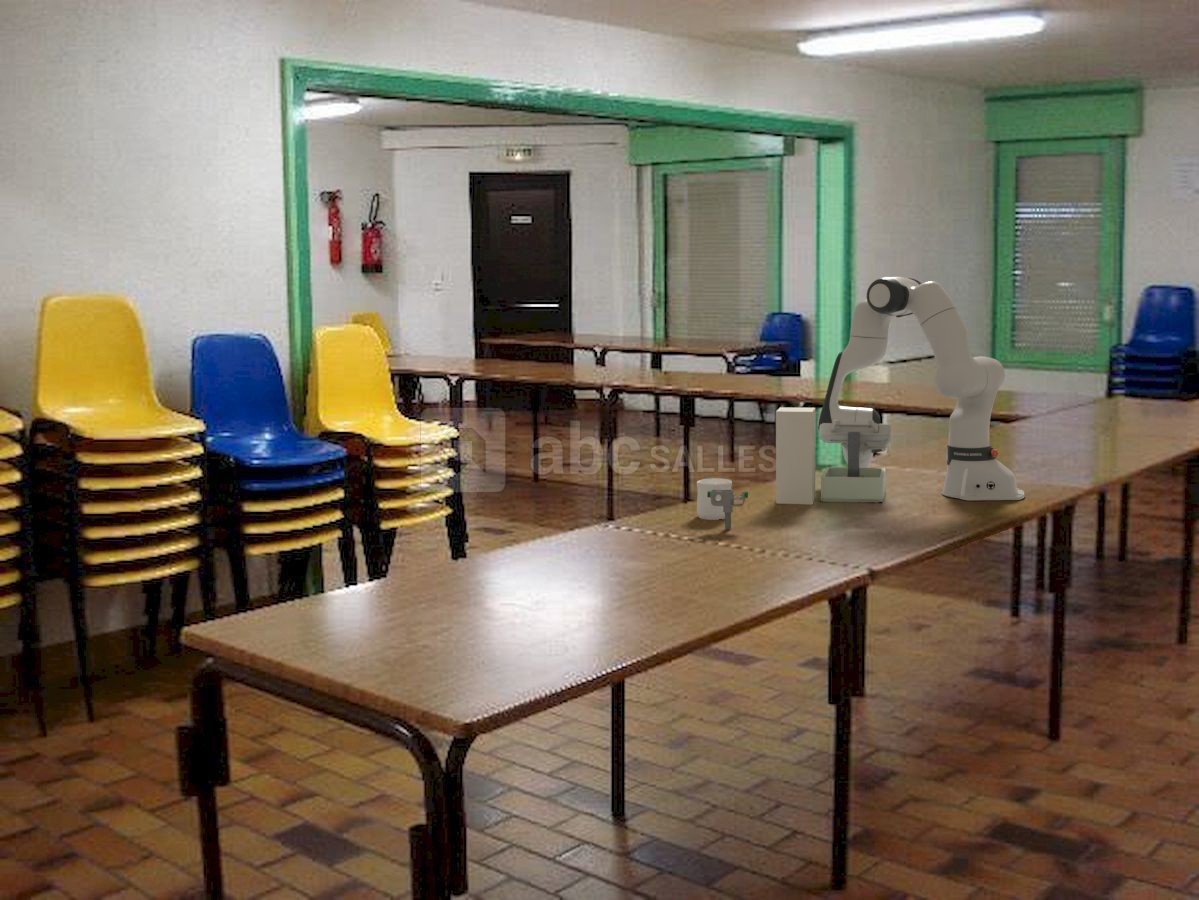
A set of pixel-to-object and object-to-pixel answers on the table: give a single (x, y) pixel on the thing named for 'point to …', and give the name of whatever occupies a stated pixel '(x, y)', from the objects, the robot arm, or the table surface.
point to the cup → (704, 502)
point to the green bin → (853, 485)
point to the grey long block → (853, 455)
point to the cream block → (795, 455)
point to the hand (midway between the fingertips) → (853, 422)
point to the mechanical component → (726, 502)
